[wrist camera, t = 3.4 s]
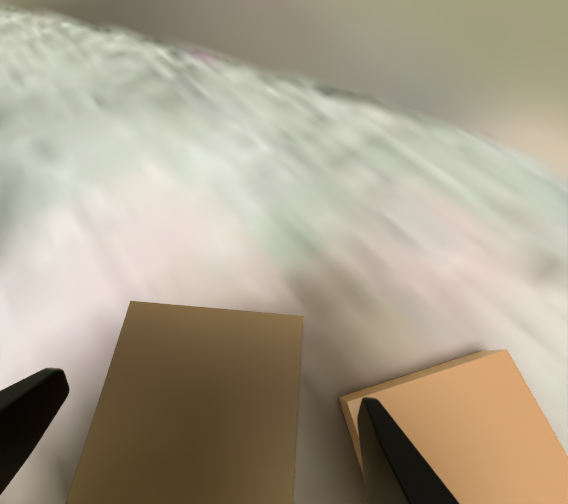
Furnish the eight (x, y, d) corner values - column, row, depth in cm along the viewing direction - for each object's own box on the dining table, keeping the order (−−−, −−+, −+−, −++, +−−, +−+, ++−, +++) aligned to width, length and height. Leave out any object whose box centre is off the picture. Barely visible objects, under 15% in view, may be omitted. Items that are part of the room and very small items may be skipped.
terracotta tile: (406, 617, 12) (437, 679, 9) (336, 396, 15) (346, 401, 13) (574, 542, 13) (639, 582, 10) (474, 351, 16) (506, 349, 14)
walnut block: (283, 441, 14) (289, 555, 6) (189, 432, 14) (57, 531, 6) (290, 341, 16) (302, 316, 8) (208, 334, 16) (130, 301, 8)
